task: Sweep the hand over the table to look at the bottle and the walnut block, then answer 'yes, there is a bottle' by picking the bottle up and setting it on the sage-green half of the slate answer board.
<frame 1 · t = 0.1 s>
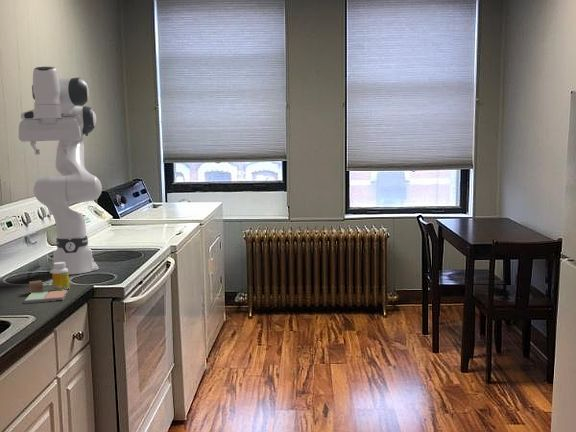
hand: (51, 154, 218), 48 cm above the countertop, tool pointing down, fingers open, 8 cm apart
answer board: (46, 298, 209), on the countertop
supplement bottle: (61, 290, 221), on the countertop
walnut block: (36, 293, 218), on the countertop
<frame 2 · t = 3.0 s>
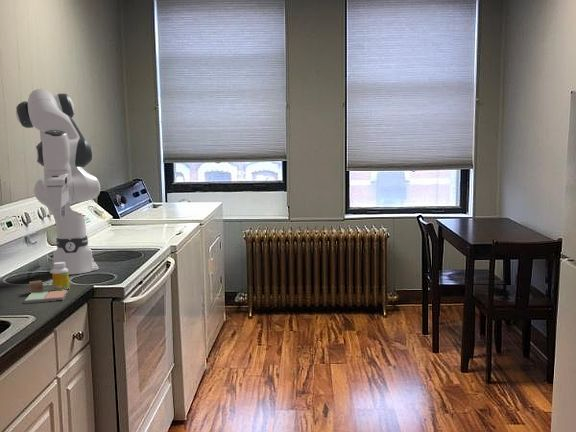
hand: (60, 218, 215), 26 cm above the countertop, tool pointing down, fingers open, 8 cm apart
nothing on the countertop moved.
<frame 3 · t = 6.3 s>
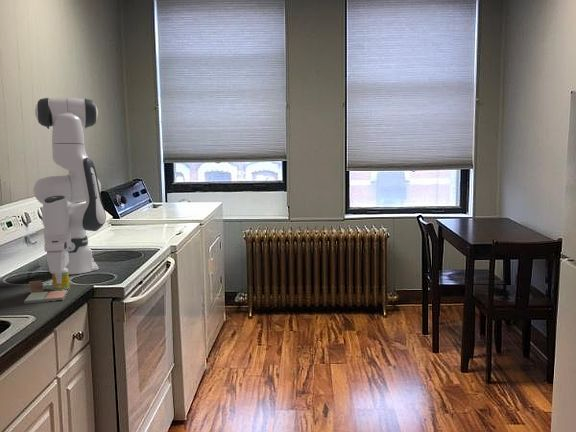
hand: (61, 281, 221), 3 cm above the countertop, tool pointing down, fingers closed on supplement bottle, 5 cm apart
supplement bottle: (61, 290, 221), on the countertop, touching gripper
everything else where it was.
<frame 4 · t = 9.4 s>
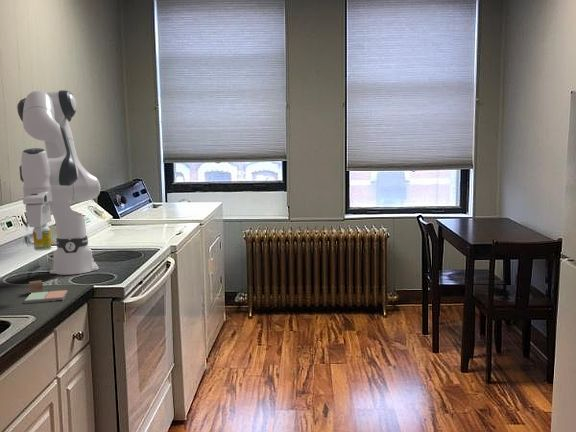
hand: (41, 237, 211), 20 cm above the countertop, tool pointing down, fingers closed on supplement bottle, 5 cm apart
supplement bottle: (43, 250, 211), point 16 cm above the countertop, touching gripper
everything else where it was.
when the fingers open (5 cm above the countertop, at t = 13.0 s): supplement bottle stays where it is, resting on answer board.
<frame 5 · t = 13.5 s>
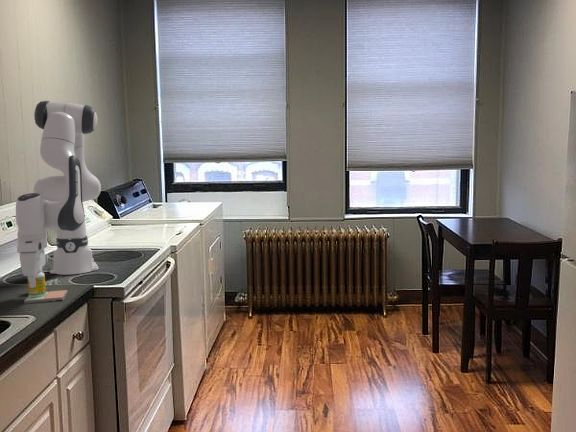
hand: (36, 283, 208), 5 cm above the countertop, tool pointing down, fingers open, 8 cm apart
supplement bottle: (37, 296, 209), point 1 cm above the countertop, touching answer board
everything else where it was.
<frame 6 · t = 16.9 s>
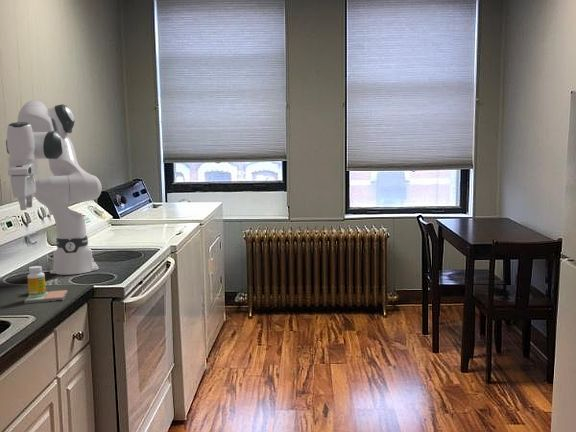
hand: (26, 208, 219), 29 cm above the countertop, tool pointing down, fingers open, 8 cm apart
nothing on the countertop moved.
at the end: supplement bottle inside the target area on the answer board (0.5 cm from its centre), point 0.9 cm above the answer board's base; supplement bottle tilted 0°; the gripper is holding nothing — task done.
